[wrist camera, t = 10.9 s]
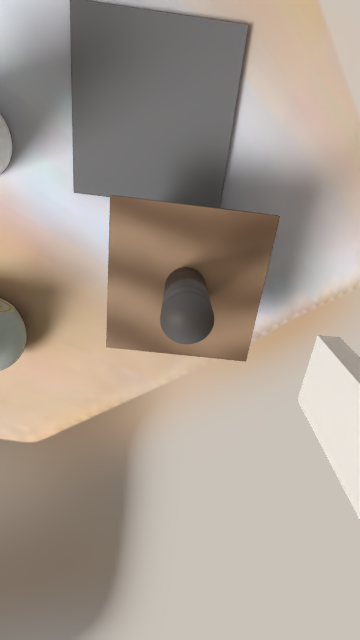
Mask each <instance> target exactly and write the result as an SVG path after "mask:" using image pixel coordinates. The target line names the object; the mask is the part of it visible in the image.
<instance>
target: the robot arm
mask: <svg viewBox="0 0 360 640" xmlns="http://www.w3.org/2000/svg"><path fill="white" fill-rule="evenodd" d="M298 402H299V404H300V406H301V408H302V410H303V412H304V413H305V415H306V418H307V419H308V421H309V423H310V425H311V427H312V429H313V431H314V433H315V435H316V437H317V439H318V441H319V442H320V444H321V446H322V448H323V450H324V452H325V454H326V456H327V458H328V460H329V462H330V464H331V466H332V467H333V469H334V471H335V473H336V475H337V477H338V479H339V481H340V483H341V485H342V487H343V489H344V490H345V492H346V494H347V496H348V498H349V500H350V502H351V504H352V506H353V508H354V510H355V511H356V513H357V515H358V517H359V519H360V357H359V356H358V355H357V354H356V353H355V352H354V351H353V350H352V349H351V348H350V347H349V346H348V345H347V344H346V343H345V342H344V341H343V340H342V339H341V338H340V337H330V336H320V335H319V336H317V339H316V343H315V346H314V349H313V352H312V355H311V358H310V362H309V365H308V368H307V371H306V375H305V378H304V381H303V384H302V387H301V390H300V393H299V397H298Z"/></svg>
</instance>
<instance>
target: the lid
mask: <svg viewBox="0 0 360 640" xmlns="http://www.w3.org/2000/svg"><path fill="white" fill-rule="evenodd" d="M279 218H280V216H277V215H269V214H261V213H253V212H245V211H237V210H229V209H221V208H213V207H205V206H197V205H189V204H181V203H173V202H165V201H157V200H149V199H141V198H133V197H125V196H117V195H110V222H109V261H108V300H107V339H106V347H109V348H119V349H129V350H139V351H148V352H158V353H168V354H178V355H188V356H197V357H207V358H217V359H227V360H237V361H246V359H247V354H248V350H249V346H250V342H251V338H252V333H253V329H254V325H255V320H256V316H257V312H258V308H259V303H260V299H261V295H262V290H263V286H264V282H265V278H266V273H267V269H268V265H269V260H270V256H271V252H272V248H273V243H274V239H275V235H276V230H277V226H278V222H279Z"/></svg>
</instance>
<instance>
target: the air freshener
mask: <svg viewBox="0 0 360 640" xmlns="http://www.w3.org/2000/svg"><path fill="white" fill-rule="evenodd" d="M26 339H27V336H26V328H25V324H24V322H23V319H22V317H21V316H20V314H19V312H18V311H17V310H16V309H15V307H14V306H13V305H12V304H10V303H9V302H7V301H5V300H3V299H1V298H0V371H1V370H3V369H5V368H8V367H9V366H11V365H12V364H13V363H15V362H16V361H17V360H18V359H19V357H20V356H21V354H22V353H23V350H24V348H25V345H26Z"/></svg>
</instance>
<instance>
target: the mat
mask: <svg viewBox="0 0 360 640" xmlns="http://www.w3.org/2000/svg"><path fill="white" fill-rule="evenodd" d="M70 23H71V75H72V127H73V179H74V193H81V194H90V195H98V196H106V197H110V195H117V196H125V197H133V198H141V199H149V200H157V201H165V202H173V203H181V204H189V205H197V206H205V207H213V208H220V203H221V196H222V190H223V184H224V177H225V171H226V165H227V158H228V152H229V145H230V139H231V133H232V126H233V120H234V113H235V107H236V101H237V94H238V88H239V81H240V75H241V69H242V62H243V56H244V50H245V43H246V37H247V30H248V25H247V24H240V23H234V22H227V21H220V20H214V19H207V18H200V17H194V16H187V15H180V14H174V13H167V12H161V11H154V10H147V9H141V8H134V7H127V6H121V5H114V4H107V3H101V2H94V1H88V0H70Z"/></svg>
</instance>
